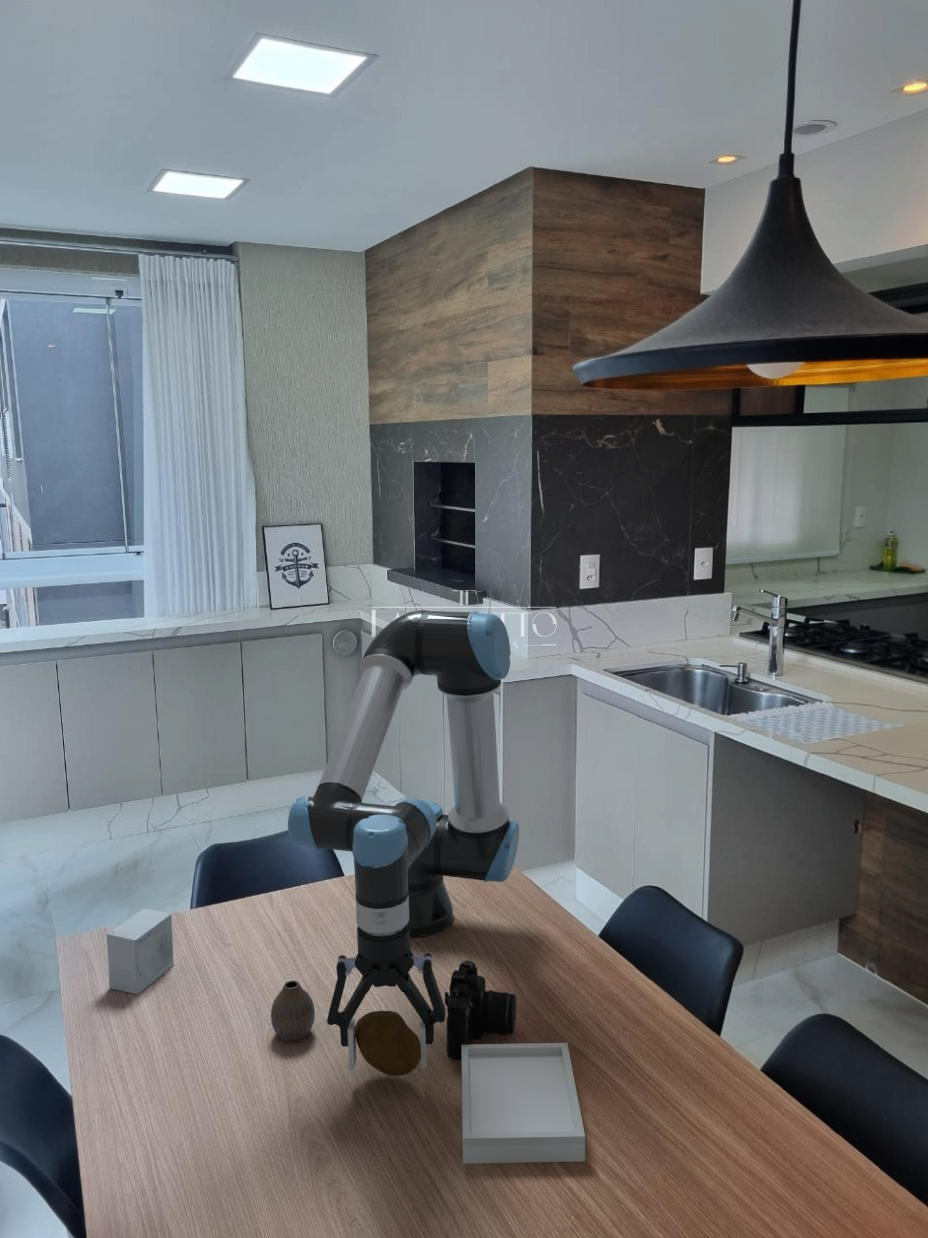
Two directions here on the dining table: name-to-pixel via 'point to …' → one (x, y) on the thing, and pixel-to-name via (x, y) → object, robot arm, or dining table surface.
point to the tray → (520, 1104)
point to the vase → (292, 1012)
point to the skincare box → (140, 951)
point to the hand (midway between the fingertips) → (388, 1063)
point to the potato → (388, 1043)
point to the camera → (475, 1010)
